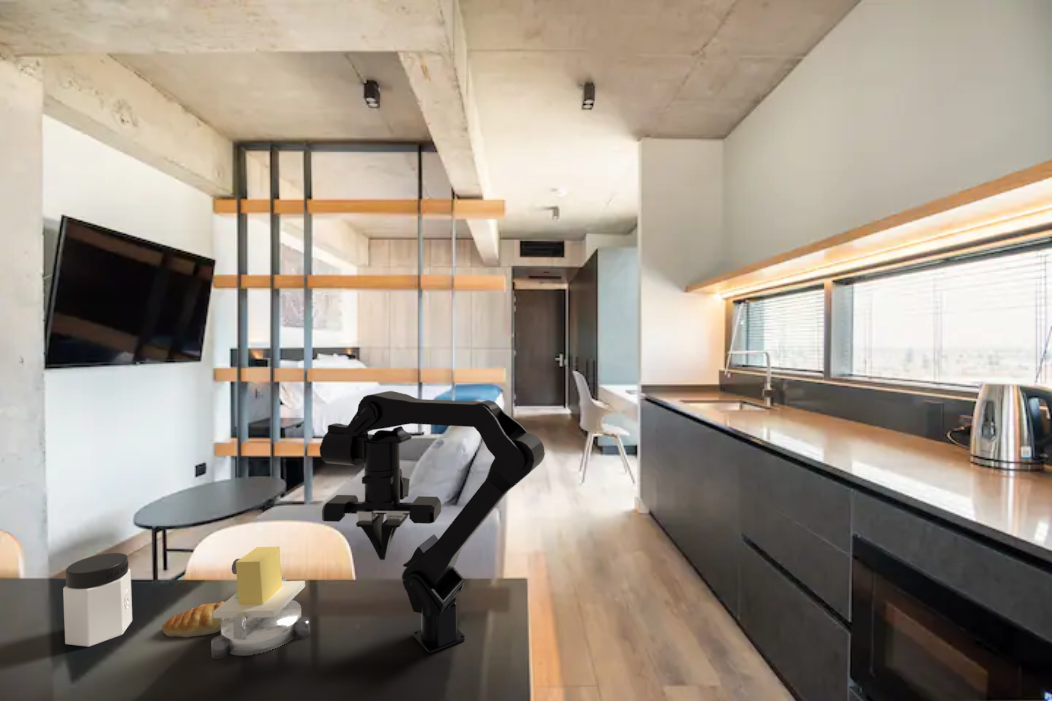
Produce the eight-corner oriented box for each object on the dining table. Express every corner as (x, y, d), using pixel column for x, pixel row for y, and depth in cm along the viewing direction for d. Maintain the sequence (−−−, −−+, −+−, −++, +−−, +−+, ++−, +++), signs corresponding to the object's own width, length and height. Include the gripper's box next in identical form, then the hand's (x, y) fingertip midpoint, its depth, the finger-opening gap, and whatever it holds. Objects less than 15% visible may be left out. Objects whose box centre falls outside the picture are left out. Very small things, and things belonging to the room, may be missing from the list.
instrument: (306, 588, 93) (302, 540, 93) (273, 620, 83) (269, 567, 83) (251, 589, 94) (248, 542, 94) (212, 622, 84) (208, 569, 83)
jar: (119, 642, 87) (116, 569, 86) (57, 652, 84) (54, 578, 83) (138, 614, 95) (136, 548, 95) (82, 623, 92) (79, 555, 92)
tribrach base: (327, 612, 95) (327, 576, 95) (286, 661, 81) (285, 619, 81) (252, 610, 96) (251, 575, 96) (199, 658, 82) (198, 617, 82)
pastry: (157, 645, 86) (156, 622, 86) (169, 624, 92) (168, 602, 92) (222, 634, 89) (222, 611, 89) (230, 614, 95) (229, 593, 95)
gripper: (447, 456, 96) (448, 541, 97) (347, 455, 97) (348, 539, 98) (432, 472, 85) (433, 568, 86) (319, 471, 86) (321, 565, 87)
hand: (383, 558), depth 89 cm, fingers closed
